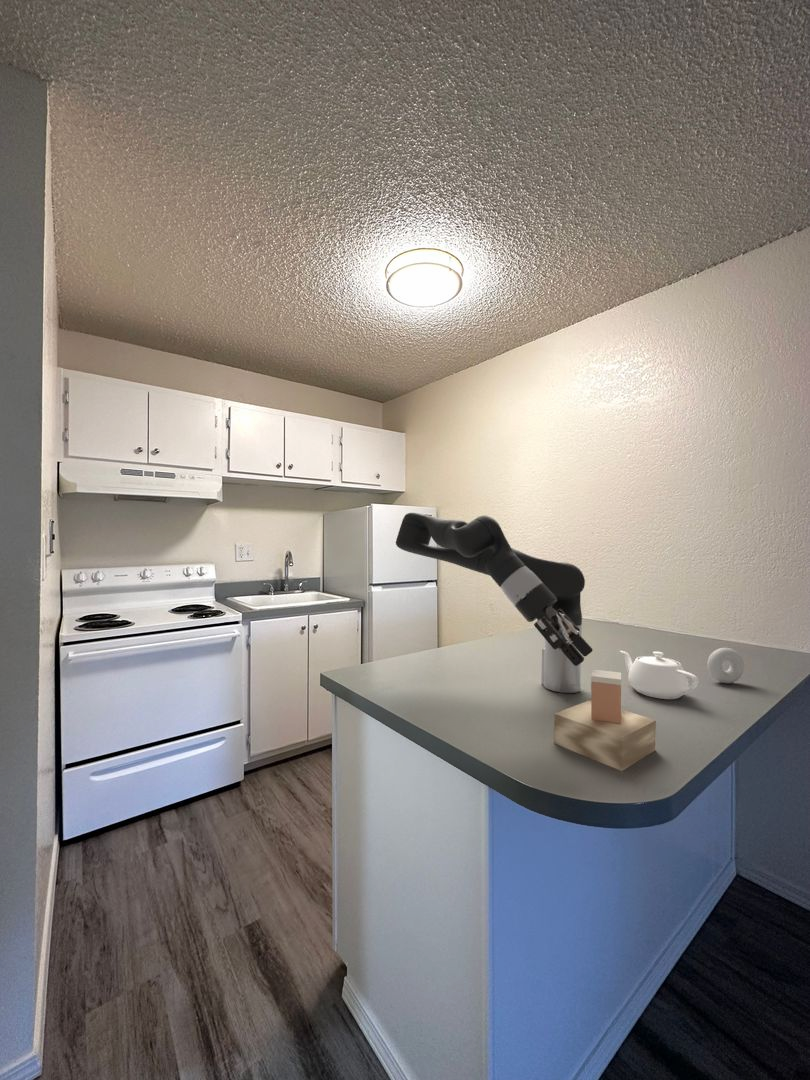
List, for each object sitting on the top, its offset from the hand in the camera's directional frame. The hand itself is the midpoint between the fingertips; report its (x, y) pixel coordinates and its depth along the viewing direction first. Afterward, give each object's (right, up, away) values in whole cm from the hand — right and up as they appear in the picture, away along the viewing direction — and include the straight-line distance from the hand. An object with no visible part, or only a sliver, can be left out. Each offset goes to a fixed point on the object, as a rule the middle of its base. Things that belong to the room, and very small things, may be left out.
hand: (585, 658), depth 87 cm
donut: (+56, -18, +40) cm, 71 cm away
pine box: (+3, -17, -2) cm, 17 cm away
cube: (+3, -11, -2) cm, 11 cm away
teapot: (+31, -17, +31) cm, 47 cm away
